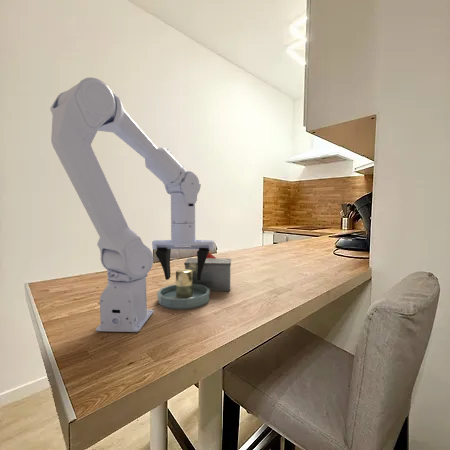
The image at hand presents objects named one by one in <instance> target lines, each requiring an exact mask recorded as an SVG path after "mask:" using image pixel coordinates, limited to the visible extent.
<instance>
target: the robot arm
mask: <svg viewBox="0 0 450 450" xmlns="http://www.w3.org/2000/svg"><path fill="white" fill-rule="evenodd" d="M49 108H50V112H51V116H52V119H51V145H52V148H53V149H54V151H55V154H56V155H57V158H59V159H58V160H59V161H60V163H61V165H62V166H63V168H64V171H65V173H66V174H67V177H68V178H69V181H70V182H71V184H72V186H73V187H74V190H75V192H76V194H77V195H78V198H79V200H80V201H81V203H82V205H83V207H84V209H85V210H86V213H87V215H88V217H89V219H90V221H91V223H92V225H93V226H94V228H95V231H96V233H97V235H98V237H99V239H98V241H97V248H98V249H99V252H100V262H101V263H100V264H101V265H102V266H103V268H104V269H105V270H106V274H107V284H106V287H105V288H104V290H103V291H102V292H101V294H100V296H99V314H100V315H99V317H100V324H99V325H98V326H97V327H96V329H95V331H96V332H112V333H113V332H118V333H119V332H121V333H122V332H123V333H124V332H125V333H126V332H127V333H129V332H130V333H139V331H141V329H142V328H143V327H144V325H145V324H146V323H147V322H148V320H149V318H150V317H151V316H152V314H153V313H154V309H148V307H147V306H148V304H147V300H148V299H147V277H148V273H150V271H151V269H152V268H153V265H154V255H153V254H154V253H153V252H152V250H156V251H155V255H156V257H157V259H158V261H159V263H160V265H161V267H162V270H163V273H164V278H165V280H166V281H167V280H170V278H171V273H172V272H171V252H172V250H197V252H196V255H197V256H196V258H197V259H198V273H197V280H201V277H202V270H203V266H204V263H205V260H206V258H207V255H208V253H209V252H211V251H213V250H215V240H202V239H196V204H197V201H198V196H199V195H198V194H199V193H200V190H201V185H202V184H201V183H200V179H199V178H198V176H197V175H196V173H194V172H193V171H191V170H189V171H188V170H186V168H185V166H184V165H183V164H181V163H180V162H179V161H178V160H177V159H176V158H175V157H174V156H173V155H172V151H171V150H170V149H169V148H166V147H160V146H159V147H158V146H156V145H155V144H154V143H153V141H152V140H151V139H150V138H149V137H148V136H147V134H146V133H145V132H144V131H143V130H142V129H141V128H140V127H139V125H138V124H137V123H136V121H134V120H133V118H132V117H131V116H130V115H129V113H128V112H127V111H126V109H125V108H124V105H123V102H122V100H121V98H120V97H119V96H117V95H116V94H115V93H113V91H112V89H111V88H110V86H108V84H106V83H105V82H104V81H102V80H101V79H99V78H96V77H86V78H83V79H81V80H80V81H79V83H77V84H75V85H73V86H72V87H70V88H69V89H68V90H66V91H63V92H60V93H59V95H57V97H56V98H55V99H54V101H53V103H52V104H51V106H50V107H49ZM98 131H99V132H104V133H105V132H106V133H107V132H108V133H113V134H114V135H115V136H117V137H118V139H120V140H122V141H123V142H124V143H125V145H126V144H127V146H129V147H130V148H131V149H133V150H134V152H136V153H138V154H139V155H140V157H142V158H143V159H144V164H145V165H144V166H145V168H146V169H147V170H149V172H150V173H152V174H153V175H154V176H155V177H156V178H158V180H160V182H162V183H163V184H164V185H163V186H164V188H165V191H166V193H167V194H168V195H170V239H165V240H164V239H162V240H161V239H159V240H158V239H157V240H155V239H154V240H152V244H151V245H152V250H151V249H150V248H149V247H148V246H147V245H146V244H144V242H143V240H142V238H141V237H140V236H139V235H138V234H137V233H136V232H135V231H134V230H133V229H131V228H130V226H129V225H128V223H127V221H126V218H125V216H124V214H123V212H122V210H121V208H120V206H119V204H118V203H119V202H118V201H117V200H116V197H115V195H114V193H113V190H112V188H111V186H110V184H109V182H108V180H107V177H106V175H105V172H104V171H103V169H102V166H101V165H100V162H99V161H98V158H97V156H96V153H95V152H94V149H93V147H92V143H93V141H94V139H95V137H96V135H97V133H98Z"/></svg>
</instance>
